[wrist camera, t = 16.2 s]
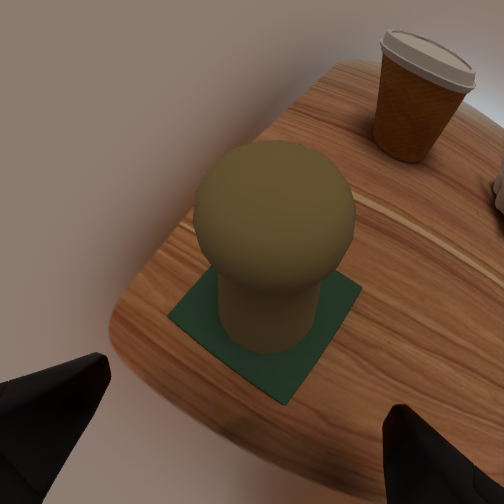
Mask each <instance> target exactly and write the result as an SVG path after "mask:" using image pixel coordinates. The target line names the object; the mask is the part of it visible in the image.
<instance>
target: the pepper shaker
mask: <svg viewBox="0 0 504 504" xmlns="http://www.w3.org/2000/svg"><path fill="white" fill-rule="evenodd" d="M355 216H356V206H355V203H354V199H353V196H352V192H351V189H350V187H349V185H348V182H347V180H346V179H345V177H344V176H343V175H342V173H341V172H340V170H339V169H338V168H337V166H336V165H335V164H334V163H333V162H331V161H330V160H329V159H328V158H326V157H325V156H324V155H322V154H321V153H319V152H317V151H315V150H313V149H311V148H308V147H306V146H304V145H301V144H296V143H292V142H287V141H258V142H254V143H249V144H245V145H241V146H239V147H237V148H235V149H233V150H231V151H229V152H227V153H225V154H224V155H223V156H222V157H221V158H220V159H218V160H217V161H216V162H215V163H214V164H213V165H212V166H211V167H210V168H209V170H208V171H207V173H206V174H205V176H204V178H203V180H202V182H201V183H200V185H199V187H198V189H197V191H196V197H195V204H194V213H193V225H194V228H195V232H196V235H197V239H198V242H199V245H200V248H201V250H202V253H203V254H204V256H205V257H206V258H207V260H208V261H209V262H210V264H211V265H212V266H213V267H214V269H215V270H216V271H217V272H218V314H219V318H220V321H221V324H222V327H223V329H224V330H225V332H226V333H227V334H228V336H229V337H230V338H231V340H232V341H234V342H235V343H237V344H238V345H240V346H241V347H243V348H244V349H246V350H249V351H253V352H256V353H260V354H272V353H279V352H282V351H285V350H288V349H290V348H293V347H294V346H295V345H296V344H298V343H299V342H300V341H301V340H303V339H304V338H305V337H306V335H307V333H308V332H309V330H310V329H311V327H312V325H313V322H314V318H315V314H316V309H317V304H318V298H319V293H320V287H321V281H322V280H323V279H324V278H325V277H326V276H328V275H329V274H330V273H331V272H333V271H334V270H335V269H336V268H337V267H338V265H339V263H340V262H341V260H342V258H343V256H344V255H345V253H346V251H347V249H348V248H349V246H350V244H351V242H352V240H353V235H354V226H355Z"/></svg>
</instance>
